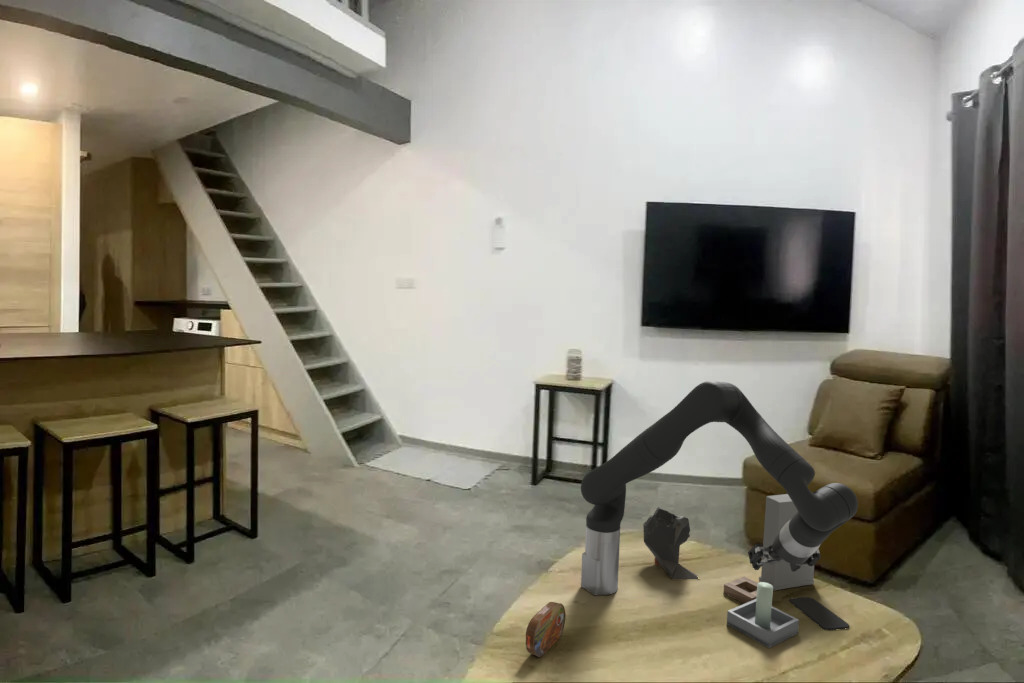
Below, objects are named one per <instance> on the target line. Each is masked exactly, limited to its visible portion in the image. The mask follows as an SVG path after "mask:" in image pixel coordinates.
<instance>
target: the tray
mask: <svg viewBox="0 0 1024 683" xmlns="http://www.w3.org/2000/svg"><path fill="white" fill-rule="evenodd" d="M726 612H727V613H726V625H727V626H729V627H730V628H732V629H734V630H736V631H738V632H739V633H741V634H743V635H744V636H746V637H748V638H750V639H752V640H753V641H755V642H757V643H759V644H760V645H763V646H764V647H766V648H768V649H771V648H772V647H775V646H777V645H778V644H781V643H782V642H785V641H787V640H788V639H790V638H792V637H794V636H797V635H798V634H799V628H800V626H799V625H800V619H798V618H796V617H794V616H793V615H790V614H788V613H786V612H784V611H783V610H781V609H779V608H776V607H774V606H773V605H772V609H771V623H770V628H769V629H764V628H762V627H760V626H758V625H757V624H755V612H756V599H754V600H752V601H750V602H747V603H745V604H744V603H742V604H741V605H738V606H736V607H733V608H731V609H728V610H727V611H726Z"/></svg>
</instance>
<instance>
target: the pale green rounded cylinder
mask: <svg viewBox="0 0 1024 683" xmlns="http://www.w3.org/2000/svg"><path fill="white" fill-rule="evenodd" d="M757 583H758V584H757V598H756V612H755V624H757V625H758V626H760V627H762V628H764V629H769V628H770V623H771V609H772V606H773V593H774V592H773V586H772V585H771V584H769V583H765V582H760V581H759V582H757Z"/></svg>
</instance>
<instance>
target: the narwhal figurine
mask: <svg viewBox="0 0 1024 683" xmlns="http://www.w3.org/2000/svg"><path fill="white" fill-rule="evenodd" d="M642 526H643V543H644V545H645V546H646V547H647V549H648V550H649V551H650V552H651V554H652V555H653V556H654V565H655V566H660V567H661V568H663V569H664V571H665V573H666V574H667V575H670V576H671V577H670V576H669V577H670V579H671V578H672V579H698V577H699V576H698V575H697V574H696V573H694V571H693V572H692V571H691V570H690V569H688V568H687V567H685V566H683V565H682V564H680V563H679V562H680V548H681V547H680V546H681V545H682V544H685V543H686V542H687V541H688V539H689V538H690V536H691V535H690V532H691V527H690V526H691V525H690V520H689V518H688V517H685V516H684V515H677V514H674V513H672V512H669V511H668V510H666V509H663V508H662V507H657V508H656V510H655V511H654V513H653V515H652V514H651V515H649V517H648V518H647V519H646V521H645V522H644V523H643V524H642ZM697 576H698V577H697ZM672 579H671V580H672Z"/></svg>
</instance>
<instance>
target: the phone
mask: <svg viewBox="0 0 1024 683" xmlns="http://www.w3.org/2000/svg"><path fill="white" fill-rule="evenodd" d="M788 602H789V603H790V604H791V605H792V606H794V607H795V608H796V609H798V610H799V611H800V612H802V614H804V615H805V616H806V617H807V618H808V619H810V620H811V621H812V622H814V623H815V624H816V625H817V626H819V627H820V628H821V629H822V630H824V631H837V630H836V629H840V630H846V629H845V628H848V629H849V628H850V624H849V623H847V622H846V621H845V620H844V619H843V618H841V617H840V616H838V615H837V614H835V613H834V612H833V611H832V610H830V609H829V608H828V607H825V606H824V605H823V603H821V602H819V601H818V600H816V599H815V598H814V597H811V596H803V597H799V596H798V597H789V598H788Z"/></svg>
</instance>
